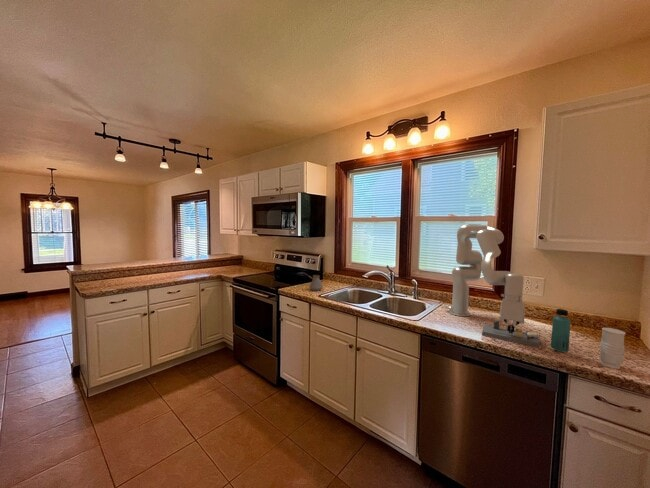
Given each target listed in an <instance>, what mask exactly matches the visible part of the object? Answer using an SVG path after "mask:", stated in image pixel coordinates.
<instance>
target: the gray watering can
mask: <svg viewBox="0 0 650 488" xmlns="http://www.w3.org/2000/svg"><path fill="white" fill-rule="evenodd" d="M300 274H304V275H305V276H306V277H309V278H310V279H312V281H311V282H310V285H309V289H310V290H311V291H312V292H320V291H321V290H322V289H323V285H322V282H321V279H320V278H321V276H320V275H319V274H313V275H312V276H310V275H309V274H308V273H305V272H304V271H301V273H300Z"/></svg>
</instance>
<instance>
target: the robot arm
mask: <svg viewBox="0 0 650 488" xmlns="http://www.w3.org/2000/svg"><path fill="white" fill-rule="evenodd" d="M456 239H457V246H456V254H455V255H456V256H455V261H456V263H457V264H458V265H461V266H455V267H453V269H452V270H451V276H452V300H451V305H448V304H444V308H445V309H447V310H448V312H449V314H451V315H454V316H458V317H469V316H471V313H470V312H469V299H470V298H469V295H470V287H469V285H468V283H467V282H476V281H478V280H480V278H481V275H482V276H483V278H484V280H485V282H486V283H487V284H488V285H491V286H504V291H503V292H504V293H501V294H500V297H502V299H501V302H500V309H499V310H500V311H499V318H498V320H499V321H503V322H504V323H505V324H506V325H507V328H506V329H507V331H509V333H511V334H513V332H514V331H515V330H516V328H515V327H516V326H518V325H525V313H526V311H525V310H526V309H525V303H524V301H523V293H524V279H525V278H524V275H523V274H520V273H513V272H512V271H509V270H494V269H493V266H492V260H493V259H496V258H497V257H499V256H500V255H501V253H502V251H501V249H500V247H499V245H500V244H502V243H503V242H504V239H505V236H504V234H503V232H502V231H501V230H499V229H497V228H495V227H492V226H489V225H485V224H463V225H461V226H460V227H459V228H457V231H456ZM471 239H476V240H477V242H478V244H479V245H478V246H479V247H480V250H481V252H480V251H478V250H474V249H472V248H473V243H472V240H471ZM464 265H465V266H464ZM511 322H512V324H511Z"/></svg>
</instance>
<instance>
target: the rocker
mask: <svg viewBox="0 0 650 488" xmlns="http://www.w3.org/2000/svg"><path fill="white" fill-rule="evenodd" d="M527 336H529V337H538V338H539V333H538V332H535V331H534V332H533V331H532V332H530V331H528V332H527Z"/></svg>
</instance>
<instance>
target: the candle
mask: <svg viewBox="0 0 650 488" xmlns="http://www.w3.org/2000/svg"><path fill="white" fill-rule="evenodd" d="M601 330H602V333H601V340H599V341H600V344H599V351H600V352H599V356H598V358H599V359H600V360H601V361H600V362H599V363H600V364H601V365H602V366H604V367H607V368H610V369H614V370H615V369H616V370H620V369H621V366H620V365H623V364H624V363H623V362H624V360H623V357H624V356H625V348H626V346H625V343H624V342H625V335H626V334H627V333H626V332H625V331H623V330H620V329H617V328H612V327H602V328H601Z"/></svg>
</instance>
